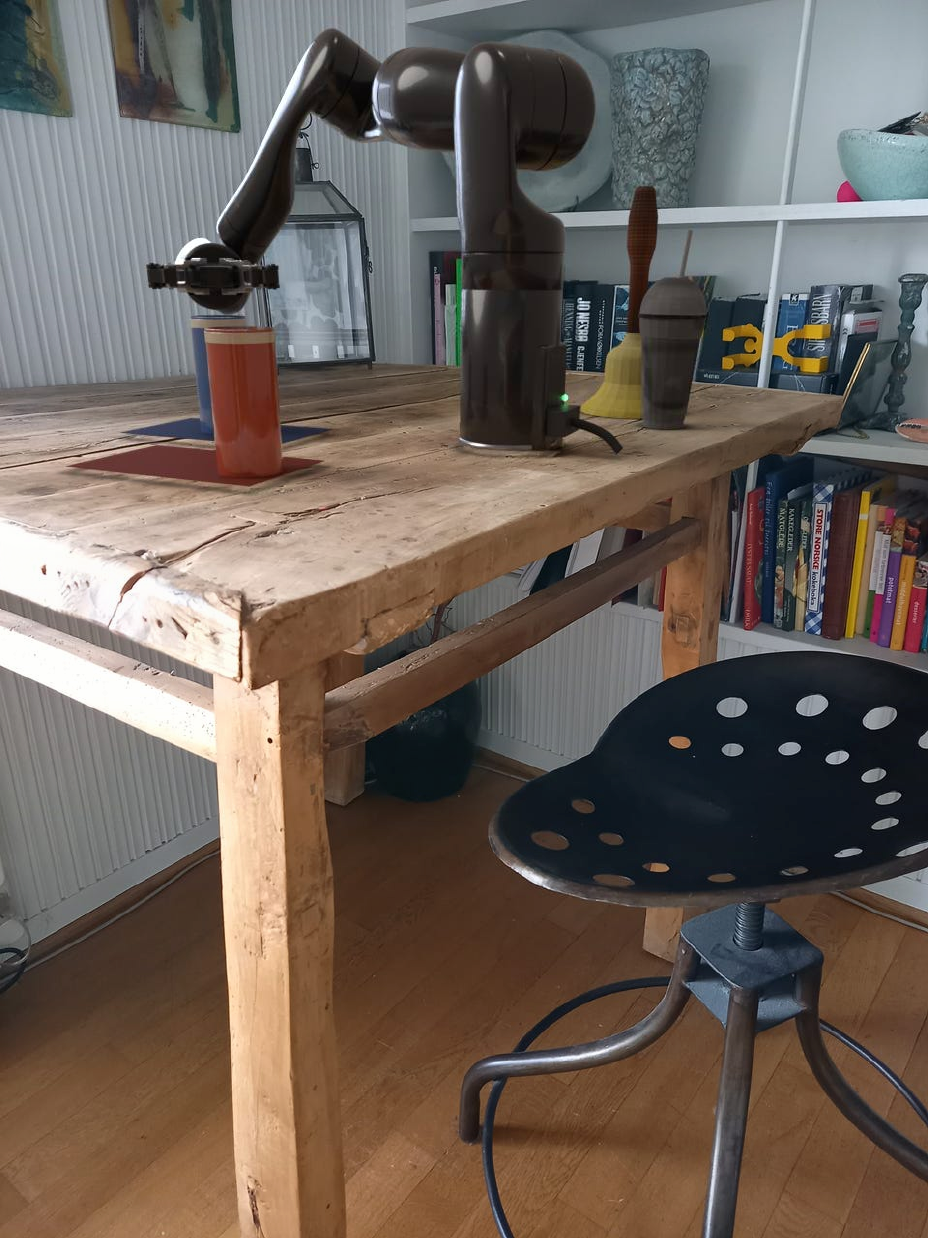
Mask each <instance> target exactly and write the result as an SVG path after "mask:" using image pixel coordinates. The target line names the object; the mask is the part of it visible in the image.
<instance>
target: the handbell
mask: <svg viewBox="0 0 928 1238" xmlns="http://www.w3.org/2000/svg"><path fill="white" fill-rule="evenodd" d="M634 190H635V191H634V194H633V198H632V203H631V206H630V210H629V214H628V223H627V236H626V249H627V254H628V260H629V287H628V300H627V317H626V318H627V319H626V331H625V334H624V338H623V340H622V341H621V342H620V343H619V344H618V345H617V346H615V347H613V348H612V349H610V350H609V352H608V353H607V355H606V359H605V366H604V381H603V382H602V384H601V385H600V387H599V388H598V390H597V392H595V394H593V396H591V397H590V398H589V399H587V400H586V401H585V402H583V403H582V405H581V406H580V413H583V414H585V415H590V416H594V417H603V418H611V419H612V418H613V419H634V420H643V419H642V388H641V336H640V330H639V318H638V314H639V313H640V307H641V303H642V300H643V298H644V296H645V294H646V293H647V291H648V290H649V275H650V268H651V263H652V260H653V257H654V255H655V251H656V248H657V241H658V229H659V228H658V227H659V210H658V204H657V203H658V201H657V191H656V189H655V187H654V186H653V185H639V186H637V187H636V188H635V189H634Z"/></svg>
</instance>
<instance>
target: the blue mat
mask: <svg viewBox="0 0 928 1238" xmlns="http://www.w3.org/2000/svg"><path fill="white" fill-rule="evenodd" d="M332 430H334V428H325V427H315V426H313V427H312V426H303V425H302V426H300V425H287V424H281V436H282V445H284V444H287V443H290V442H294V441H297V440H300V439H304V438H307V437H312V436H314V435H318V434H321V433H325V432H329V431H332ZM119 433H120V434H129V435H138V436H141V435H142V436H148V437H149V436H150V437H161V438H173V439H184V440H194V441H195V440H196V441H206V442H207V441H208V442H215V439H214V434H206V433H203V432H201V426H200V417H197V418H196V417H189V418H183V419H178V420H175V421H174V420H173V421H170V422H165V423H159V424H155V425H151V426H144V427H140V428H135V429H131V430H130V429H129V430H126V431H125V430H124V431H121V432H119Z"/></svg>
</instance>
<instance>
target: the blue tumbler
mask: <svg viewBox="0 0 928 1238" xmlns="http://www.w3.org/2000/svg"><path fill="white" fill-rule="evenodd" d="M189 326H190V329H191V330H190V332H191V340H192V350H193V351H192V352H193V361H194V372H195V382H196V384H195V385H196V393H197V402H198V403H197V404H198V414H199V419H200V426H201V432H203V433H206V434H214V428H213V417H212V406H211V395H210V384H209V373H208V362H207V351H206V342H205V337H204V331H205V328H209V327H227V326H247V318H246V316H245V315H238V314H232V315H224V314H200V315H190V316H189Z"/></svg>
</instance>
